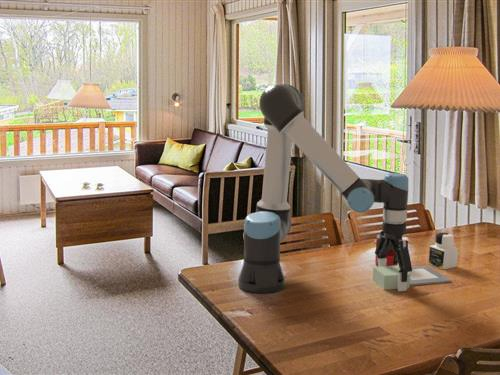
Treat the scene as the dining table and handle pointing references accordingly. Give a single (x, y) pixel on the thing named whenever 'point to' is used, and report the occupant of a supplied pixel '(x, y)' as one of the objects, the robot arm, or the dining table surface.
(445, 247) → the medicine bottle
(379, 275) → the block
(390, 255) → the canned food
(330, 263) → the dining table surface
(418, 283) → the plate
